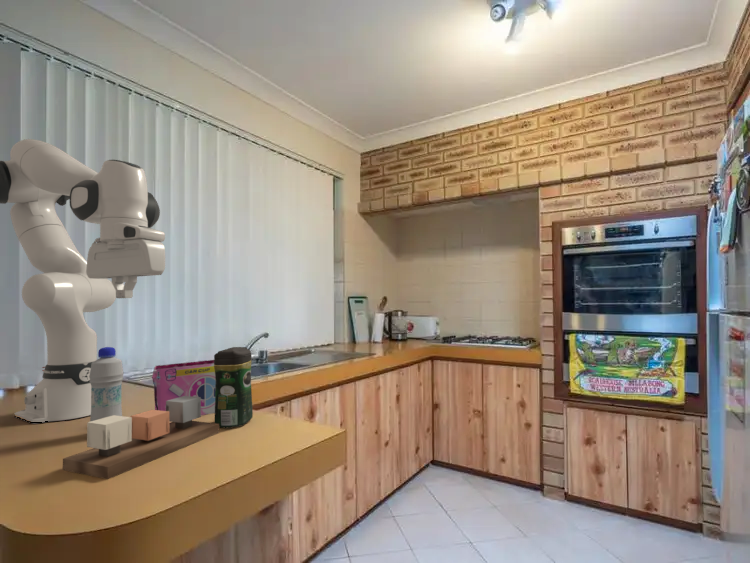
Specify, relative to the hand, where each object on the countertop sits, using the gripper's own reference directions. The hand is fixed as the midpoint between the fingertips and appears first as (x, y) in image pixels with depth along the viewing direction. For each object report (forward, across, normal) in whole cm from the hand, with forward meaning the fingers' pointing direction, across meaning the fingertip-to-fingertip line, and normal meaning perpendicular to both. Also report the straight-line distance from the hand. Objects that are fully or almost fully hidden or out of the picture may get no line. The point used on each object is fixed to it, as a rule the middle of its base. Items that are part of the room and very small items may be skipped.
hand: (124, 298), depth 88 cm
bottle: (+31, -11, +4) cm, 33 cm away
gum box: (+32, -4, +26) cm, 41 cm away
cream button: (+27, +8, -9) cm, 30 cm away
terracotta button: (+28, +8, 0) cm, 29 cm away
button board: (+31, +8, 0) cm, 32 cm away
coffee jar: (+31, +12, +20) cm, 39 cm away
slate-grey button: (+27, +8, +9) cm, 30 cm away
